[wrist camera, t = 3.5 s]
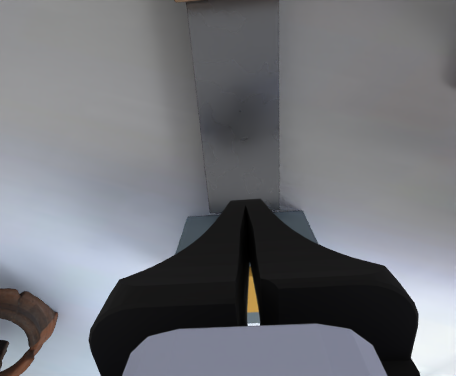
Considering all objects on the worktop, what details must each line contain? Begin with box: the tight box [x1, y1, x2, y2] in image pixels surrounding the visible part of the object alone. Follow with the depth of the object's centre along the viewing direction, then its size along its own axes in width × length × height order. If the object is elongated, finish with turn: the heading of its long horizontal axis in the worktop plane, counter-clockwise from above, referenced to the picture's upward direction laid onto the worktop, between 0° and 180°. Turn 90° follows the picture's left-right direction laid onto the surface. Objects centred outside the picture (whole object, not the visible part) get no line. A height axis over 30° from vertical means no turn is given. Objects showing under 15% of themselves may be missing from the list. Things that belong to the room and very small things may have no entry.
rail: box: [186, 0, 279, 213], centre depth 17 cm, size 5×20×2 cm, turn 4°
